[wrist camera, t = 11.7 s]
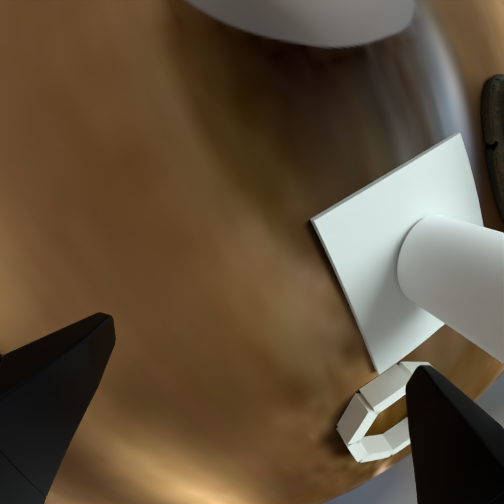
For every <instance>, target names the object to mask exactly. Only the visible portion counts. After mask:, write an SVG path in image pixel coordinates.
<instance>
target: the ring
mask: <svg viewBox="0 0 504 504" xmlns="http://www.w3.org/2000/svg"><path fill="white" fill-rule="evenodd" d="M419 365H430V364H429V363H428V362H400V363H399V365H397V364H395V365H393V366H392V367H390V368H389V369H388V370H386V371H385V372H384V373H382V374H381V375H379V376H378V377H376V378H375V379H374V380H372V381H371V382H369V383H368V384H366V385H365V386H363V387H362V388H360V389H359V391H360V393H355V394H354V396H353V398H352V400H351V402H350V403H349V405H348V407H347V409H346V410H345V412H344V414H343V415H342V417H341V419H340V420H339V422H338V424H337V427H338V428H336V429H337V430H338V432H339V434H340V435H341V437H342V439H343V441H344V442H345V444H346V446H347V447H348V449H349V450H350V452H351V453H352V455H353V456H354V458H355V459H356V461H357V462H359V461H360V463H361V462H367V461H372V460H377V459H382V458H387V457H389V456H390V455H391V454H392V455H394V454H395V453H397V452H398V451H400V450H401V449H403V448H404V447H406V446H407V445H408V444H410V438H409V430H408V417H406V418H405V419H403V420H402V421H401V422H399V423H398V424H396V425H395V426H394V427H392V428H391V429H389V430H388V431H386V432H385V433H383V434H381V435H374V436H366V437H363V436H364V435H365V433H366V432H367V430H368V429H369V427H370V426H371V424H372V423H373V421H374V420H375V418H376V416H377V415H378V413H380V412H381V411H383V410H384V409H385V408H387V407H388V406H390V405H391V404H393V403H394V402H395V401H397V400H398V399H399V398H401V397H402V396H404V395H405V394H406V393H405V388H406V384H407V382H408V380H409V379H410V377H411V376H412V374H413V372H414V371H415V369H416V368H417V367H418V366H419ZM431 366H432V365H431ZM432 367H433V366H432ZM433 368H434V367H433ZM439 373H440V372H439Z"/></svg>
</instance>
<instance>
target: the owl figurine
mask: <svg viewBox="0 0 504 504" xmlns="http://www.w3.org/2000/svg"><path fill="white" fill-rule="evenodd" d="M481 117H482V126H483V129H484V140H485V142H486V143H488V144H490V145H491V144H493V143H494V142H495V141H497V142H498V145H497V147H496V148H495V150H494V151H492V149H490V148H488V149H487V153H486V160H487V165H488V170H489V174H490V179H491V183H492V188H493V192H494V196H495V200H496V202H497V206H498V208H499V211H500V215H501V217H502V219H503V221H504V75H503V74H496V75H494V76H493V77H492V78H491V79H490V80H488V81H487V83H486V85H485V87H484V89H483V95H482V102H481Z"/></svg>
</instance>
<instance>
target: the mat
mask: <svg viewBox="0 0 504 504" xmlns="http://www.w3.org/2000/svg"><path fill="white" fill-rule="evenodd" d="M432 215H439V216H444V217H448V218H452V219H456V220H460V221H464V222H468V223H471V224H475V225H478V226H482V227H483V221H482V215H481V210H480V205H479V200H478V195H477V191H476V187H475V182H474V178H473V174H472V171H471V167H470V163H469V160H468V156H467V153H466V149H465V146H464V143H463V140H462V137H461V134H460V133H454V134H453V135H451V136H449V137H448V138H446V139H444V140H442V141H441V142H439V143H437V144H436V145H434V146H432V147H431V148H429V149H427V150H426V151H424V152H422V153H421V154H419V155H417V156H416V157H414V158H412V159H411V160H409V161H407V162H405V163H404V164H402V165H400V166H399V167H397V168H395V169H394V170H392V171H390V172H389V173H387V174H385V175H384V176H382V177H380V178H379V179H377V180H375V181H374V182H372V183H370V184H368V185H367V186H365V187H363V188H362V189H360V190H358V191H357V192H355V193H353V194H352V195H350V196H348V197H347V198H345V199H343V200H341V201H340V202H338V203H336V204H335V205H333V206H331V207H330V208H328V209H326V210H325V211H323V212H321V213H320V214H318V215H316V216H315V217H313V218H311V219H310V220H311V222H312V224H313V226H314V228H315V231H316V233H317V235H318V237H319V239H320V241H321V243H322V245H323V247H324V250H325V252H326V254H327V256H328V258H329V260H330V263H331V265H332V267H333V269H334V271H335V274H336V276H337V278H338V280H339V283H340V285H341V287H342V289H343V292H344V294H345V296H346V299H347V301H348V303H349V306H350V308H351V310H352V313H353V315H354V318H355V320H356V322H357V325H358V327H359V330H360V332H361V335H362V337H363V339H364V342H365V344H366V347H367V349H368V352H369V355H370V357H371V360H372V362H373V365H374V368H375V370H376V372H377V373H378V374H379V375H380V374H381V373H383V372H384V371H386V370H387V369H388V368H390V367H391V366H392V365H394V364H395V363H397V362H398V361H399V360H401V359H402V358H403V357H405V356H406V355H407V354H408V353H410V352H411V351H412V350H414V349H415V348H416V347H417V346H419V345H420V344H421V343H422V342H424V341H425V340H426V339H427V338H428V337H430V336H431V335H432V334H433V333H434V332H436V331H437V330H438V329H439V328H440V327H441V326H443V325H444V324H445V323H444V322H442V321H441V320H439V319H438V318H436V317H435V316H433V315H432V314H430V313H429V312H427V311H426V310H424V309H423V308H421V307H420V306H418V305H417V304H415V303H414V302H412V301H411V300H410V299H408V298H407V297H406V296H405V295H404V294H403V292H402V291H401V288H400V286H399V283H398V277H397V261H398V255H399V251H400V248H401V246H402V243H403V241H404V239H405V237H406V236H407V234H408V233H409V231H410V230H411V229H412V228H413V227H414V226H415V225H416V224H417V223H418V222H419V221H421V220H422V219H424V218H426V217H428V216H432Z"/></svg>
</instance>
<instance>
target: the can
mask: <svg viewBox="0 0 504 504" xmlns="http://www.w3.org/2000/svg"><path fill="white" fill-rule="evenodd" d="M397 277H398V283H399V286H400V288H401V291H402V292H403V294H404V295H405V296H406V297H407V298H408V299H410V300H411V301H412V302H414V303H415V304H417V305H418V306H420V307H421V308H423V309H424V310H426V311H427V312H429V313H430V314H432V315H433V316H435V317H436V318H438V319H439V320H441V321H442V322H444V323H445V324H447V325H448V326H449V327H451V328H452V329H454V330H455V331H457V332H458V333H460V334H461V335H463V336H464V337H466V338H467V339H468V340H470V341H471V342H473V343H474V344H476V345H477V346H479V347H480V348H481V349H483V350H484V351H486V352H487V353H489V354H490V355H491V356H493V357H494V358H496V359H497V360H499V361H500V362H501V363H503V364H504V233H502V232H499V231H496V230H492V229H489V228H485V227H482V226H478V225H475V224H471V223H468V222H464V221H460V220H456V219H452V218H448V217H444V216H439V215H432V216H428V217H426V218H424V219H422V220H421V221H419V222H418V223H417V224H416V225H415V226H414V227H413V228H412V229H411V230H410V231H409V233H408V234H407V236H406V237H405V239H404V241H403V243H402V246H401V248H400V251H399V255H398V261H397Z"/></svg>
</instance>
